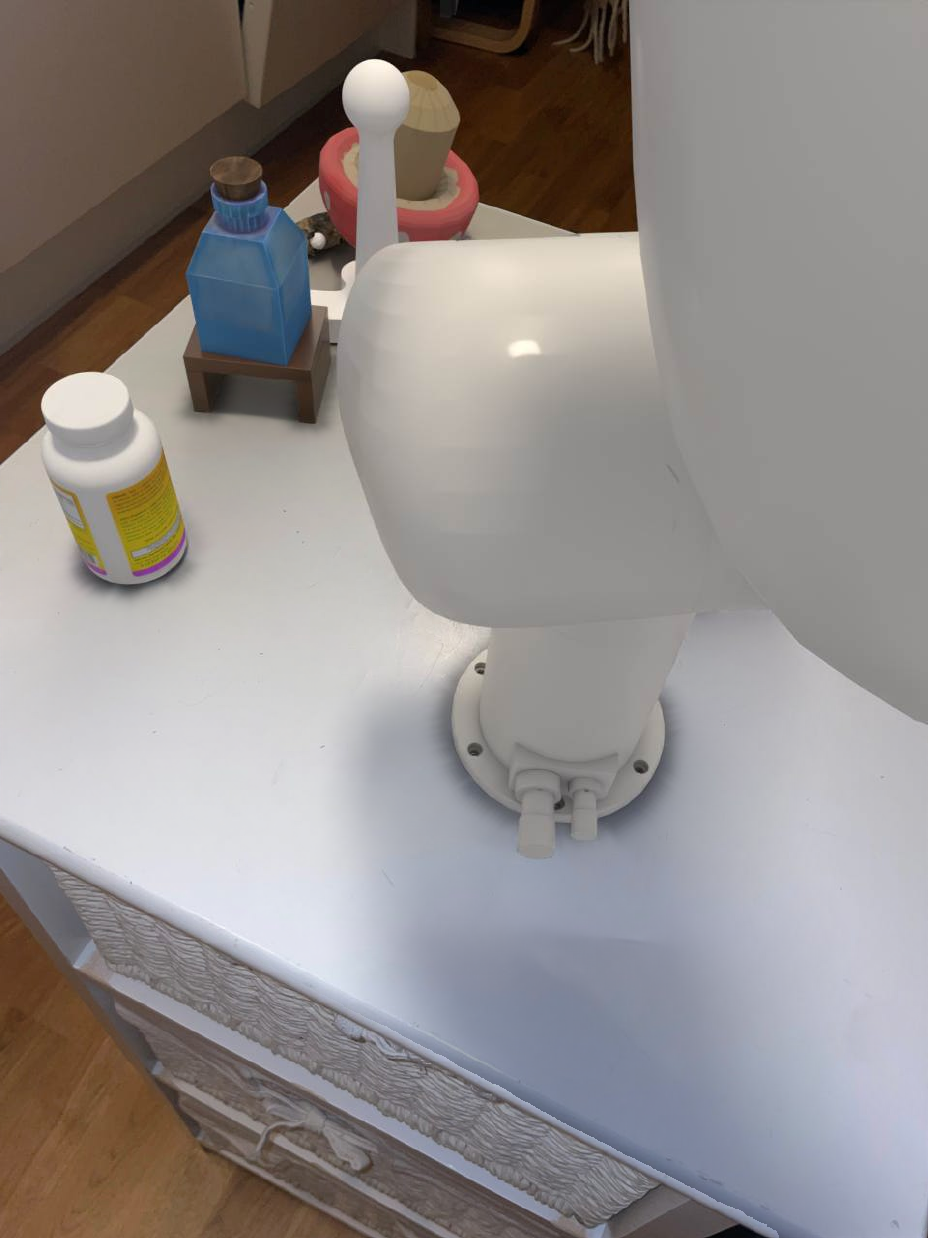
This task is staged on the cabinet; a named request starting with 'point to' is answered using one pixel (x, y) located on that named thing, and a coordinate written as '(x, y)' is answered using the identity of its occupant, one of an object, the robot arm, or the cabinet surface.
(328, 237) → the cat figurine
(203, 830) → the cabinet surface
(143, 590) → the cabinet surface
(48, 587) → the cabinet surface
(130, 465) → the supplement bottle
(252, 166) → the perfume bottle
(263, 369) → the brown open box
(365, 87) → the joystick
